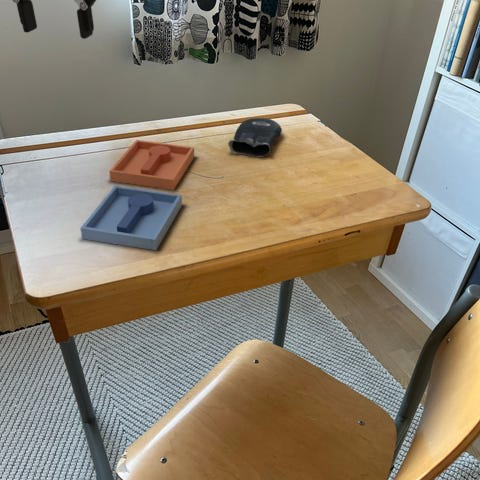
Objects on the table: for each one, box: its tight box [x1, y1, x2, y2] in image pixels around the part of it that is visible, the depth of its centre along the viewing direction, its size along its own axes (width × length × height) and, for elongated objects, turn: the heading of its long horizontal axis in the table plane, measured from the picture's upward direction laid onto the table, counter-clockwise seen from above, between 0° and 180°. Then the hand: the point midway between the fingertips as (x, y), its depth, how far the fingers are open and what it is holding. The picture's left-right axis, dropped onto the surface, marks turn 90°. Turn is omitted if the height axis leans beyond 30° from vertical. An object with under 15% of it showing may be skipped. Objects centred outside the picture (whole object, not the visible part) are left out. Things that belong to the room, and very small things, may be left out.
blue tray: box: [79, 185, 183, 251], centre depth 85 cm, size 12×14×2 cm
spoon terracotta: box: [141, 145, 171, 175], centre depth 99 cm, size 11×4×2 cm, turn 168°
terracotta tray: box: [108, 139, 195, 191], centre depth 99 cm, size 12×14×2 cm
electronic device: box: [227, 117, 283, 158], centre depth 109 cm, size 9×6×15 cm
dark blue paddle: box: [117, 194, 154, 234], centre depth 84 cm, size 11×4×2 cm, turn 168°
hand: (58, 33), depth 82 cm, fingers open, 9 cm apart
